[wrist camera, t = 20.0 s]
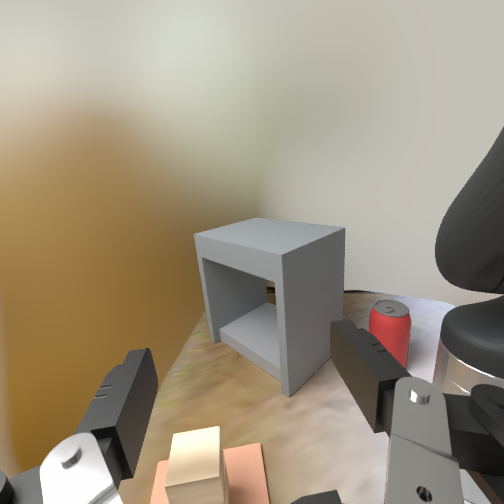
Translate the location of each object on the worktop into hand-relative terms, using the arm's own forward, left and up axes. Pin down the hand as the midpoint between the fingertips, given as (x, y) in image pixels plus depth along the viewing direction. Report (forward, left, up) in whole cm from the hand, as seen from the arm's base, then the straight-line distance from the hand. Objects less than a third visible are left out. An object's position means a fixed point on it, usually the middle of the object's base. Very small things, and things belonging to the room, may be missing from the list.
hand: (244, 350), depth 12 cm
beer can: (-27, -28, -30) cm, 49 cm away
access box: (-8, -39, -30) cm, 50 cm away
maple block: (+6, -10, -29) cm, 31 cm away
